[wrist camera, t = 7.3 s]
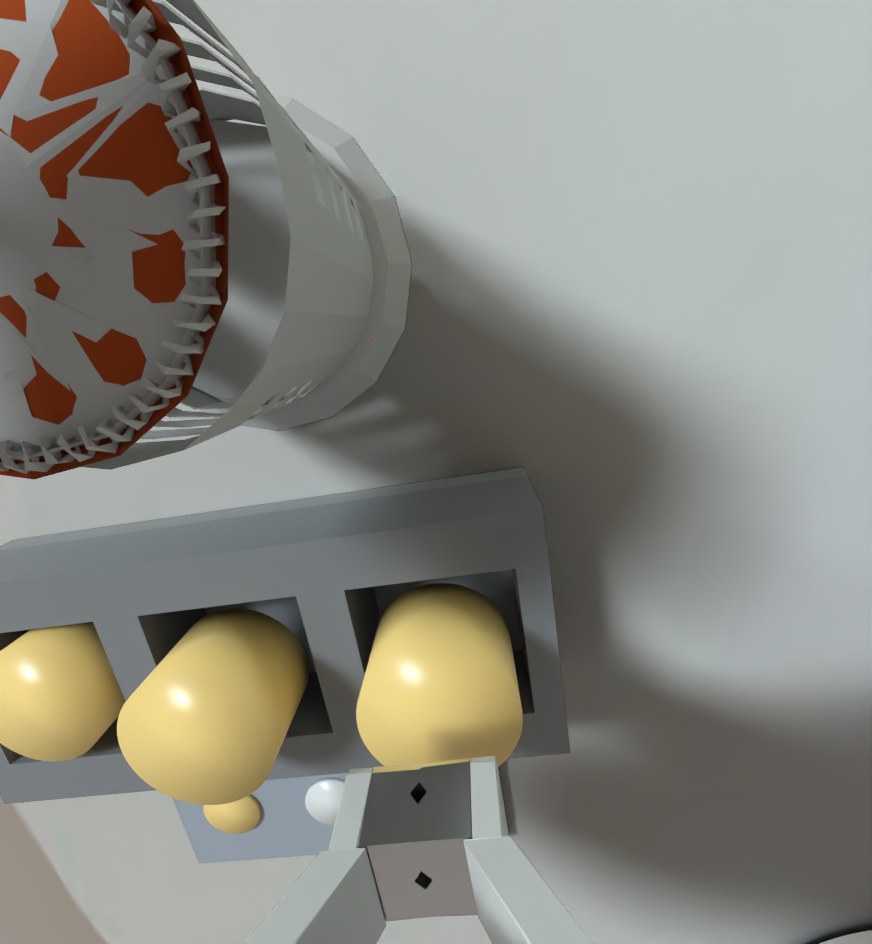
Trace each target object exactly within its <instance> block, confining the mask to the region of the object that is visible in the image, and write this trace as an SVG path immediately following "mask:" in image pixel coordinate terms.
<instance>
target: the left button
mask: <svg viewBox="0 0 872 944" xmlns="http://www.w3.org/2000/svg"><path fill="white" fill-rule="evenodd" d="M125 702H126V701H125V699H124V696H123V694H122V692H121V689H120V687H119V684H118V682H117V679H116V677H115V674H114V672H113V670H112V667H111V665H110V662H109V660H108V657H107V655H106V653H105V650H104V648H103V645H102V643H101V640H100V638H99V635H98V633H97V631H96V628H95V626H94V623H93V622H86V623H78V624H70V625H62V626H54V627H46V628H38V629H31V630H29V631H28V632H27V633H25V634H24V635H22V636H21V637H19V638H18V639H17V640H15V641H14V642H12V643H11V644H10V645H8V646H7V647H5V648H4V649H3V650H1V651H0V743H1V744H2V745H4V746H5V747H7V748H8V749H10V750H12V751H14V752H16V753H18V754H20V755H23V756H25V757H28V758H32V759H36V760H41V761H51V762H55V761H65V760H70V759H73V758H76V757H78V756H81V755H82V754H84V753H85V752H87V751H88V750H89V749H90V748H91V747H92V746H93V745H94V744H95V743H96V742H97V741H98V739H99V738H100V737H101V736H102V735H103V734H104V733H105V731H106V730H107V729H108V728H109V727H110V726H111V724H112V723H113V722H114V721H115V720H116V719H117V718H118V716H119V714H120V711H121V709H122V707H123V705H124V703H125Z"/></svg>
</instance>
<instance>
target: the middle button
mask: <svg viewBox="0 0 872 944" xmlns="http://www.w3.org/2000/svg"><path fill="white" fill-rule="evenodd" d="M308 679H309V664H308V659H307V656H306V653H305V650H304V648H303V647H302V645H301V643H300V642H299V640H298V639H297V637H296V636H295V635H294V634H293V633H292V632H291V631H290V630H289V629H288V628H287V627H286V626H285V625H283V624H282V623H280V622H279V621H278V620H276V619H274V618H272V617H270V616H268V615H266V614H263V613H260V612H257V611H254V610H248V609H238V608H233V609H224V610H219V611H216V612H213V613H210V614H208V615H206V616H204V617H203V618H201V619H200V620H198V621H197V622H196V623H195V624H194V625H193V626H192V627H191V628H190V629H189V630H188V632H187V633H186V634H185V635H184V636H183V637H182V638H181V639H180V641H179V642H178V643H177V644H176V645H175V646H174V647H173V648H172V650H171V651H170V652H169V653H168V654H167V655H166V656H165V657H164V659H163V660H162V661H161V662H160V663H159V664H158V665H157V666H156V668H155V669H154V670H153V671H152V672H151V673H150V674H149V676H148V677H147V678H146V679H145V680H144V681H143V682H142V683H141V685H140V686H139V687H138V688H137V689H136V690H135V691H134V692H133V694H132V695H131V696H130V697H129V698H128V700H127V701H126V702H125V703H124V705H123V707H122V709H121V711H120V714H119V717H118V722H117V737H118V742H119V746H120V749H121V751H122V753H123V755H124V757H125V759H126V761H127V762H128V764H129V765H130V767H131V768H132V769H133V770H134V771H135V773H136V774H137V775H138V776H139V777H140V778H141V779H143V780H144V781H145V782H146V783H147V784H149V785H150V786H151V787H153V788H155V789H156V790H158V791H159V792H161V793H163V794H165V795H167V796H169V797H172V798H175V799H177V800H180V801H184V802H188V803H193V804H199V805H220V804H227V803H231V802H235V801H238V800H240V799H243V798H245V797H247V796H249V795H250V794H252V793H253V792H255V791H256V790H257V789H258V788H259V787H260V786H261V785H262V784H263V783H264V782H265V780H266V779H267V777H268V776H269V773H270V771H271V769H272V767H273V764H274V762H275V760H276V757H277V755H278V753H279V750H280V748H281V745H282V743H283V741H284V738H285V736H286V734H287V731H288V729H289V727H290V724H291V722H292V719H293V717H294V715H295V712H296V710H297V708H298V705H299V703H300V701H301V698H302V696H303V694H304V691H305V689H306V686H307V683H308Z"/></svg>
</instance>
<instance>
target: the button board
mask: <svg viewBox="0 0 872 944" xmlns="http://www.w3.org/2000/svg"><path fill="white" fill-rule="evenodd" d="M432 583H451V584H457V585H461V586H464V587H468V588H470V589H472V590H475V591H477V592H479V593H480V594H482V595H484V596H485V597H486V598H488V599H489V600H490V601H491V602H492V603H493V604H494V605H495V606H496V607H497V608H498V609H499V611H500V612H501V613H502V615H503V617H504V619H505V620H506V623H507V626H508V628H509V633H510V638H511V645H512V651H513V657H514V663H515V669H516V675H517V682H518V688H519V694H520V700H521V706H522V714H523V725H522V732H521V735H520V739H519V741H518V743H517V746H516V747H515V749H514V751H513V752H512V754H511V755H510V756H509V757H508V758H518V757H529V756H540V755H551V754H562V753H570V747H569V738H568V729H567V720H566V711H565V702H564V693H563V684H562V675H561V666H560V657H559V648H558V639H557V629H556V620H555V611H554V602H553V593H552V584H551V575H550V566H549V557H548V548H547V539H546V530H545V521H544V512H543V508H542V506H541V503H540V501H539V499H538V497H537V495H536V492H535V490H534V488H533V486H532V483H531V481H530V479H529V477H528V475H527V472H526V470H525V468H524V467H520V468H513V469H506V470H499V471H492V472H485V473H478V474H471V475H464V476H457V477H450V478H443V479H436V480H429V481H423V482H416V483H409V484H402V485H395V486H388V487H381V488H374V489H367V490H360V491H353V492H346V493H339V494H332V495H325V496H318V497H311V498H304V499H297V500H290V501H283V502H276V503H269V504H262V505H255V506H248V507H241V508H234V509H227V510H220V511H213V512H206V513H199V514H192V515H185V516H178V517H171V518H164V519H157V520H150V521H143V522H136V523H129V524H122V525H115V526H108V527H101V528H94V529H87V530H80V531H73V532H66V533H59V534H52V535H45V536H38V537H31V538H24V539H17V540H12V541H10V542H8V543H6V544H4V545H2V546H0V651H1V650H3V649H4V648H5V647H7V646H8V645H10V644H11V643H12V642H14V641H15V640H17V639H18V638H19V637H21V636H22V635H24V634H25V633H27V632H28V631H29V630H31V629H38V628H46V627H54V626H62V625H70V624H78V623H86V622H93V623H94V626H95V628H96V631H97V633H98V635H99V638H100V640H101V643H102V645H103V648H104V650H105V653H106V655H107V657H108V660H109V662H110V665H111V667H112V670H113V672H114V674H115V677H116V679H117V682H118V684H119V687H120V689H121V692H122V694H123V696H124V699H125V701H127V700H128V698H129V697H130V696H131V695H132V694H133V692H134V691H135V690H136V689H137V688H138V687H139V686H140V685H141V683H142V682H143V681H144V680H145V679H146V678H147V677H148V676H149V674H150V673H151V672H152V671H153V670H154V669H155V668H156V666H157V665H158V664H159V663H160V662H161V661H162V660H163V659H164V657H165V656H166V655H167V654H168V653H169V652H170V651H171V650H172V648H173V647H174V646H175V645H176V644H177V643H178V642H179V641H180V639H181V638H182V637H183V636H184V635H185V634H186V633H187V632H188V630H189V629H190V628H191V627H192V626H193V625H194V624H195V623H196V622H197V621H198V620H200V619H201V618H203V617H204V616H206V615H208V614H210V613H213V612H216V611H219V610H224V609H233V608H238V609H248V610H254V611H257V612H260V613H263V614H266V615H268V616H270V617H272V618H274V619H276V620H278V621H279V622H280V623H282V624H283V625H285V626H286V627H287V628H288V629H289V630H290V631H291V632H292V633H293V634H294V635H295V636H296V637H297V639H298V640H299V642H300V643H301V645H302V647H303V648H304V650H305V653H306V656H307V659H308V664H309V679H308V683H307V686H306V689H305V691H304V694H303V696H302V698H301V701H300V703H299V705H298V708H297V710H296V712H295V715H294V717H293V719H292V722H291V724H290V727H289V729H288V731H287V734H286V736H285V738H284V741H283V743H282V745H281V748H280V750H279V753H278V755H277V757H276V760H275V762H274V764H273V767H272V769H271V771H270V773H269V776H268V777H267V779H266V780H265V782H264V783H263V784H262V785H261V786H260V787H259V788H258V789H257V790H256V791H255V792H253V793H252V794H250V795H249V796H247V797H245V798H243V799H240V800H238V801H235V802H231V803H227V804H220V805H199V804H193V803H188V802H184V801H180V800H177V799H175V798H173V801H174V803H175V805H176V808H177V810H178V813H179V815H180V818H181V820H182V823H183V825H184V828H185V830H186V833H187V835H188V838H189V840H190V843H191V845H192V847H193V850H194V852H195V855H196V857H197V860H198V862H199V863H212V862H225V861H239V860H252V859H265V858H279V857H292V856H305V855H318V854H319V853H320V852H321V851H328V850H329V846H330V841H331V837H332V833H333V829H334V825H335V821H336V817H337V813H338V808H339V804H340V800H341V796H342V792H343V788H344V784H345V780H346V776H347V774H348V773H349V771H350V769H359V768H373V767H382V766H384V765H382V764H381V763H380V762H379V761H378V760H377V759H376V758H375V757H374V756H373V755H372V754H371V753H370V751H369V750H368V749H367V747H366V746H365V744H364V742H363V740H362V738H361V736H360V733H359V730H358V726H357V720H356V708H357V702H358V698H359V694H360V691H361V687H362V683H363V680H364V676H365V672H366V668H367V665H368V661H369V657H370V654H371V650H372V646H373V643H374V639H375V635H376V632H377V628H378V625H379V621H380V619H381V617H382V615H383V613H384V612H385V610H386V609H387V607H388V606H389V605H390V604H391V603H392V602H393V601H394V600H395V599H396V598H398V597H399V596H400V595H402V594H403V593H405V592H407V591H409V590H411V589H413V588H416V587H419V586H422V585H427V584H432ZM118 717H119V716H118ZM117 722H118V718H117V719H116V720H115V721H114V722H113V723H112V724H111V726H110V727H109V728H108V729H107V730H106V731H105V733H104V734H103V735H102V736H101V737H100V738H99V739H98V741H97V742H96V743H95V744H94V745H93V746H92V747H91V748H90V749H89V750H88V751H87V752H85V753H84V754H82V755H81V756H78V757H76V758H73V759H70V760H65V761H55V762H51V761H41V760H36V759H32V758H28V757H25V756H23V755H20V754H18V753H16V752H14V751H12V750H10V749H8V748H7V747H5V746H4V745H2V744H1V743H0V796H1V798H2V800H3V802H4V803H5V804H8V803H19V802H30V801H41V800H52V799H63V798H74V797H86V796H97V795H108V794H119V793H130V792H141V791H152V790H156V789H155V788H153V787H151V786H150V785H149V784H147V783H146V782H145V781H144V780H143V779H141V778H140V777H139V776H138V775H137V774H136V773H135V771H134V770H133V769H132V768H131V767H130V765H129V764H128V762H127V761H126V759H125V757H124V755H123V753H122V751H121V749H120V746H119V742H118V737H117ZM498 771H499V770H498ZM499 778H500V776H499ZM500 784H501V782H500ZM501 791H502V788H501ZM502 797H503V794H502ZM503 804H504V800H503ZM504 811H505V806H504ZM505 818H506V813H505ZM506 825H507V819H506ZM507 833H508V836H509V831H508V825H507Z"/></svg>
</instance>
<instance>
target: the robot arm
mask: <svg viewBox="0 0 872 944" xmlns="http://www.w3.org/2000/svg"><path fill="white" fill-rule="evenodd" d="M464 915H478V917H479V919H480V921H481V923H482V925H483V927H484V929H485V931H486V933H487V935H488V936H489V938H490V940H491V942H492V944H592V942H591V941H590V940H589V938H588V937H587V936H586V934H585V933H584V932H583V930H582V929H581V928H580V926H579V925H578V924H577V922H576V921H575V920H574V918H573V917H572V916H571V914H570V913H569V912H568V910H567V909H566V908H565V906H564V905H563V904H562V903H561V901H560V900H559V899H558V897H557V896H556V895H555V893H554V892H553V891H552V889H551V888H550V887H549V885H548V884H547V883H546V881H545V880H544V879H543V877H542V876H541V875H540V873H539V872H538V871H537V869H536V868H535V867H534V865H533V864H532V863H531V862H530V860H529V859H528V858H527V856H526V855H525V854H524V852H523V851H522V850H521V848H520V847H519V846H518V844H517V843H516V842H515V840H514V839H513V838H512V836H508V833H507V825H506V818H505V811H504V804H503V797H502V791H501V784H500V778H499V771H498V765H497V759H496V756H486V757H477V758H471V759H470V758H465V759H456V760H447V761H437V762H428V763H422V764H412V765H397V766H382V767H373V768H359V769H350V771H349V773H348V774H347V776H346V780H345V784H344V788H343V792H342V796H341V800H340V804H339V808H338V813H337V817H336V821H335V825H334V829H333V833H332V837H331V841H330V846H329V850H328V851H321V852H320V853H319V854H318V855H317V857H316V858H315V859H314V860H313V861H312V863H311V864H310V865H309V866H308V867H307V869H306V870H305V871H304V872H303V873H302V875H301V876H300V877H299V878H298V879H297V881H296V882H295V883H294V884H293V885H292V887H291V888H290V889H289V890H288V891H287V893H286V894H285V895H284V896H283V897H282V899H281V900H280V901H279V902H278V903H277V905H276V906H275V907H274V908H273V909H272V911H271V912H270V913H269V914H268V915H267V917H266V918H265V919H264V920H263V921H262V923H261V924H260V925H259V926H258V927H257V929H256V930H255V931H254V932H253V933H252V935H251V936H250V937H249V938H248V939H247V941H246V942H245V943H244V944H376V943H377V941H378V939H379V938H380V936H381V934H382V932H383V930H384V928H385V926H386V922H385V921H395V920H404V919H414V918H423V917H436V916H464ZM819 944H872V930H869V931H863V932H858V933H854V934H849V935H845V936H841V937H838V938H834V939H831V940H828V941H825V942H822V943H819Z"/></svg>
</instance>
